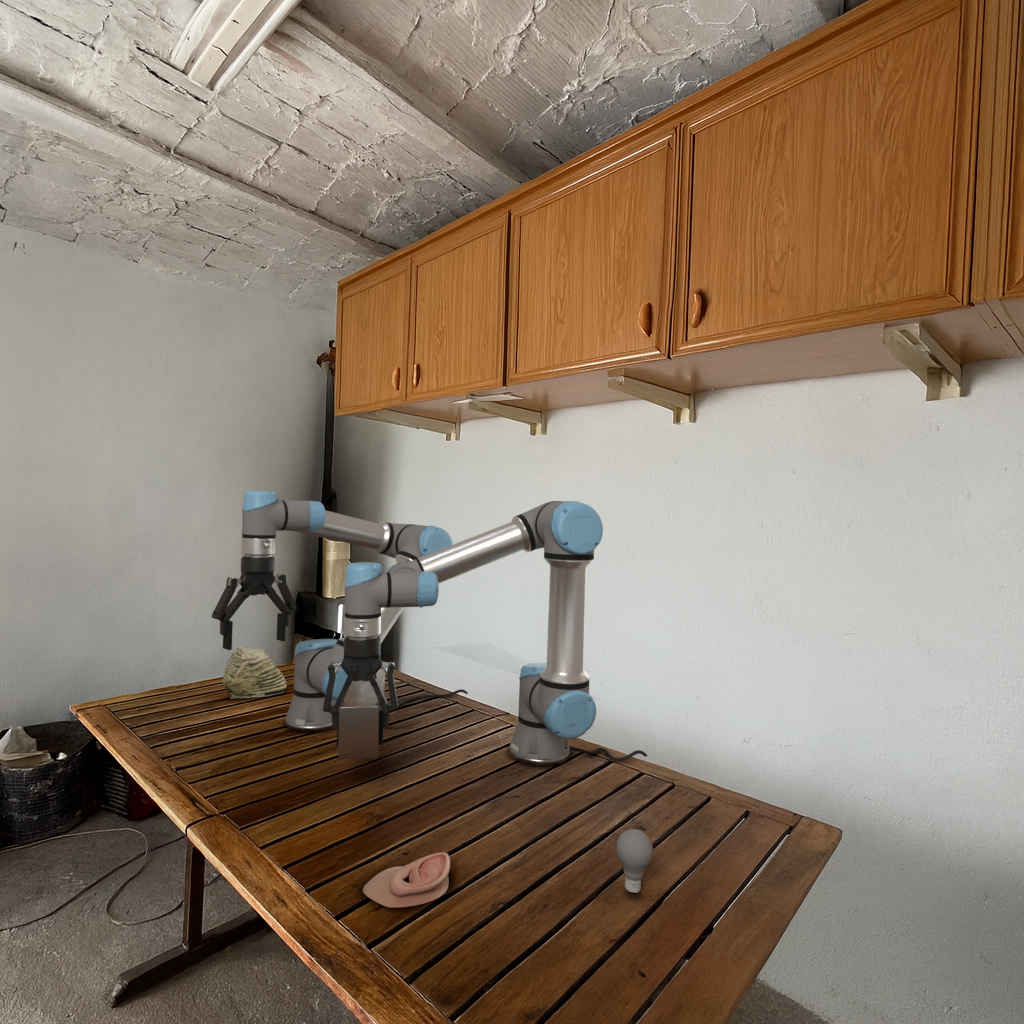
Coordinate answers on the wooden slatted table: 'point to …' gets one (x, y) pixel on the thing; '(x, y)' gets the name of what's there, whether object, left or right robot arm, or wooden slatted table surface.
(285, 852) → the wooden slatted table surface
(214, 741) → the wooden slatted table surface
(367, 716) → the box
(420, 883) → the anatomical model
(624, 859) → the light bulb
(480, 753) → the wooden slatted table surface
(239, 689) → the fossil
